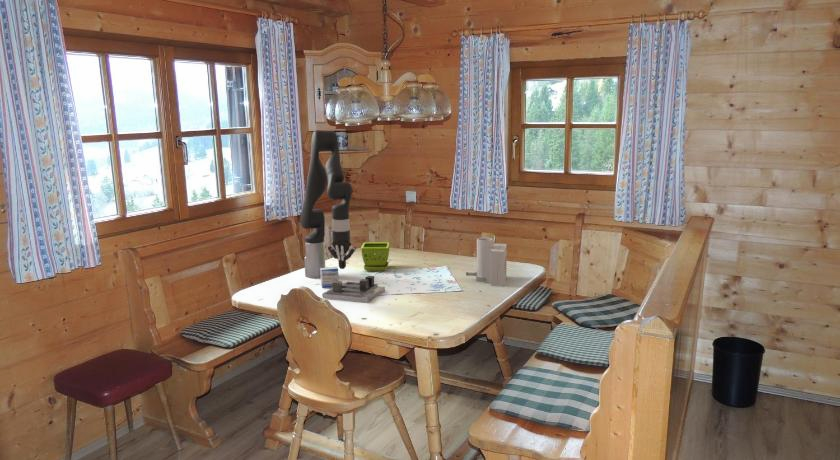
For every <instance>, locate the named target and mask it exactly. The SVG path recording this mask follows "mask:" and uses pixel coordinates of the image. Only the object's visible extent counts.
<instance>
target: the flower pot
mask: <svg viewBox="0 0 840 460" xmlns="http://www.w3.org/2000/svg"><path fill="white" fill-rule="evenodd" d="M390 245H391V242H386V241H385V242H381V241H379V242H377V241H376V242H374V241H373V242H363V244H362V245H361V248H360V250H361V257H362V261H363V263H364V265H363V269H364V271H368V272H373V271H375V272H385V271H386V270H387V269H388V266H389V263H390V262H389V261H388V259H389V254H390V248H391V247H390Z"/></svg>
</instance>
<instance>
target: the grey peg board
mask: <svg viewBox="0 0 840 460" xmlns="http://www.w3.org/2000/svg"><path fill="white" fill-rule="evenodd" d="M384 292H386V286H381V285H378V283H375V275H366V276H365V278H364V279H363V278H362V279H360V280H359V282H358V281H357V282H356V281H346V282H342V292H341V293H340V292H333V287H330V289H328V290H326V291H325V292H323V293H322V294H321V296H322V297H323V298H322V297H321V298H322V299H325V298H327V299H329V300H337V301H346V302H355V303H356V302H357V303H365V304H369V303H370V302H372V301H373V300H375V299H376V298H378V297H379V296H380V295H382V294H383V293H384Z"/></svg>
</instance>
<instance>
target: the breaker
mask: <svg viewBox="0 0 840 460" xmlns="http://www.w3.org/2000/svg"><path fill="white" fill-rule="evenodd" d="M342 283H343V281H341V280H339V281H334V282H333V283H332V284H333V287H332V288H333V292H340V293H341V292H342Z"/></svg>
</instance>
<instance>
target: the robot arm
mask: <svg viewBox="0 0 840 460" xmlns="http://www.w3.org/2000/svg"><path fill="white" fill-rule="evenodd" d="M320 152H330V156H329V158H328V159H327V161H326V163H325V167H324V166H323V163H322V162H321V159H320ZM307 172H308V173H307V177H306V178H307V179H306V187H305V195H304V200H303V204H302V207H301V208H302V209H301V212H300V217H299V218H300V224H301V225H300V226H301V227H302V228H303V229H304V230H310V229H313V231H312V232H310V233H308V234H307V235H306V236H305V237H304V242H305V243H304V244H305V246H304V248H305V257H304V259H303V261H304V275H305V277H307V278H311V279H316V278H318V279H319V278H321V275H320V268H326V251H325V249H326V248H325V234H326V233H325V231H326V230H325V228H326V226H325V225H326V224H325V223H326V218H325V214H324V213H325V212H324V211H323V209H322V208H314V206H315V204H316V203H317V202H318V201H319V199H320V198H321V197H322V196H323V194H324V193H325V192H326V191H327V192H326V194H327V197H328V198H329V199H330V200H334V201H335V200H342V201H341V202H340V203H337V204H335V205H334V204H333V205H332V207H331V215H332V216H331V217H332V218H331V220H332V221H331V230H332V231H331V232H332V234H331V235H332V237H331V238H332V242H331V245H329V246H328V247H327V250H328V251H329V253H330V254H331V256H332V257H333V259H335V260H336V259H337V260H338V268H339V269H340V270H344V269H345V268H346V267H347V260H348V259H350V258H351V257H352V256H353V254H354V253H355V251H356V250H357V248H356V247H354V246H352V243H351V225H350V210H349V209H350V203H351V198H352V196H353V186H352V184H351V183H350V182H348V181H346V182H345V175H344V171H343V167H342V164H341V157H340V145H339V139H338V135H337V133H336V132H335V130H334V131H333V130H320V129H319V130H318V129H317V130H314V131H313V133H312V136H311V147H310V160H309V168H308V171H307Z"/></svg>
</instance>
